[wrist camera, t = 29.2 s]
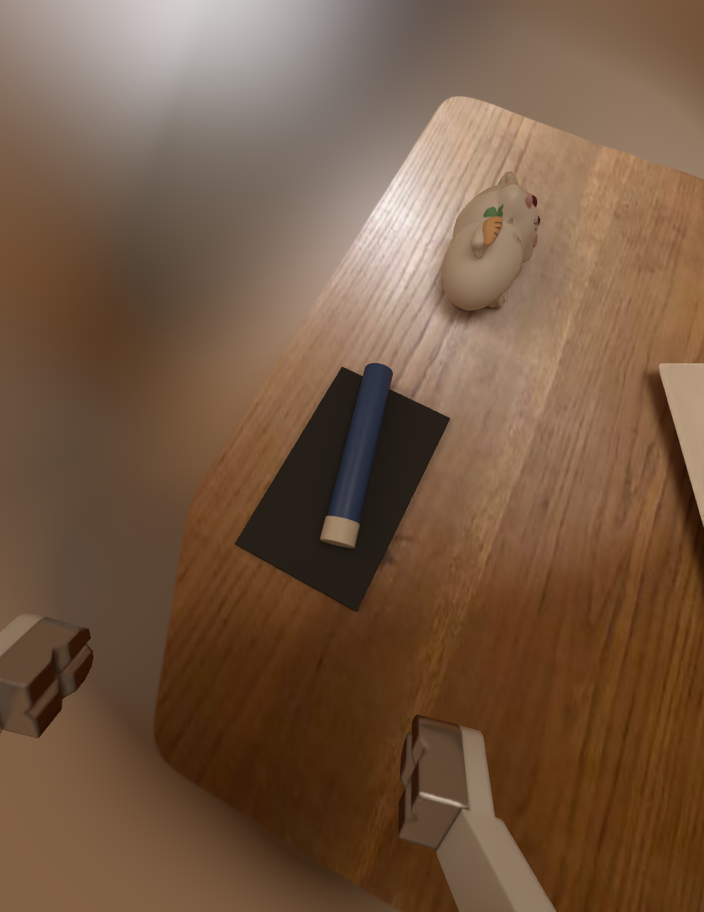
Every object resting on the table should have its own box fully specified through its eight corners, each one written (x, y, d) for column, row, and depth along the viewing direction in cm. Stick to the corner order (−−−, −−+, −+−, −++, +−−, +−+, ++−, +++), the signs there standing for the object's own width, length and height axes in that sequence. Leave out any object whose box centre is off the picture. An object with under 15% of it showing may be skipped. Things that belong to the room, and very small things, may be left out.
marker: (369, 358, 38) (324, 537, 33) (398, 369, 39) (358, 547, 34) (360, 372, 41) (316, 540, 36) (387, 382, 42) (349, 548, 36)
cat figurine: (492, 265, 35) (546, 131, 38) (410, 270, 40) (463, 151, 42) (513, 333, 42) (556, 218, 45) (442, 330, 47) (485, 226, 50)
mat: (356, 611, 35) (356, 611, 34) (235, 544, 36) (234, 543, 36) (449, 420, 41) (450, 418, 40) (342, 368, 42) (342, 366, 42)
